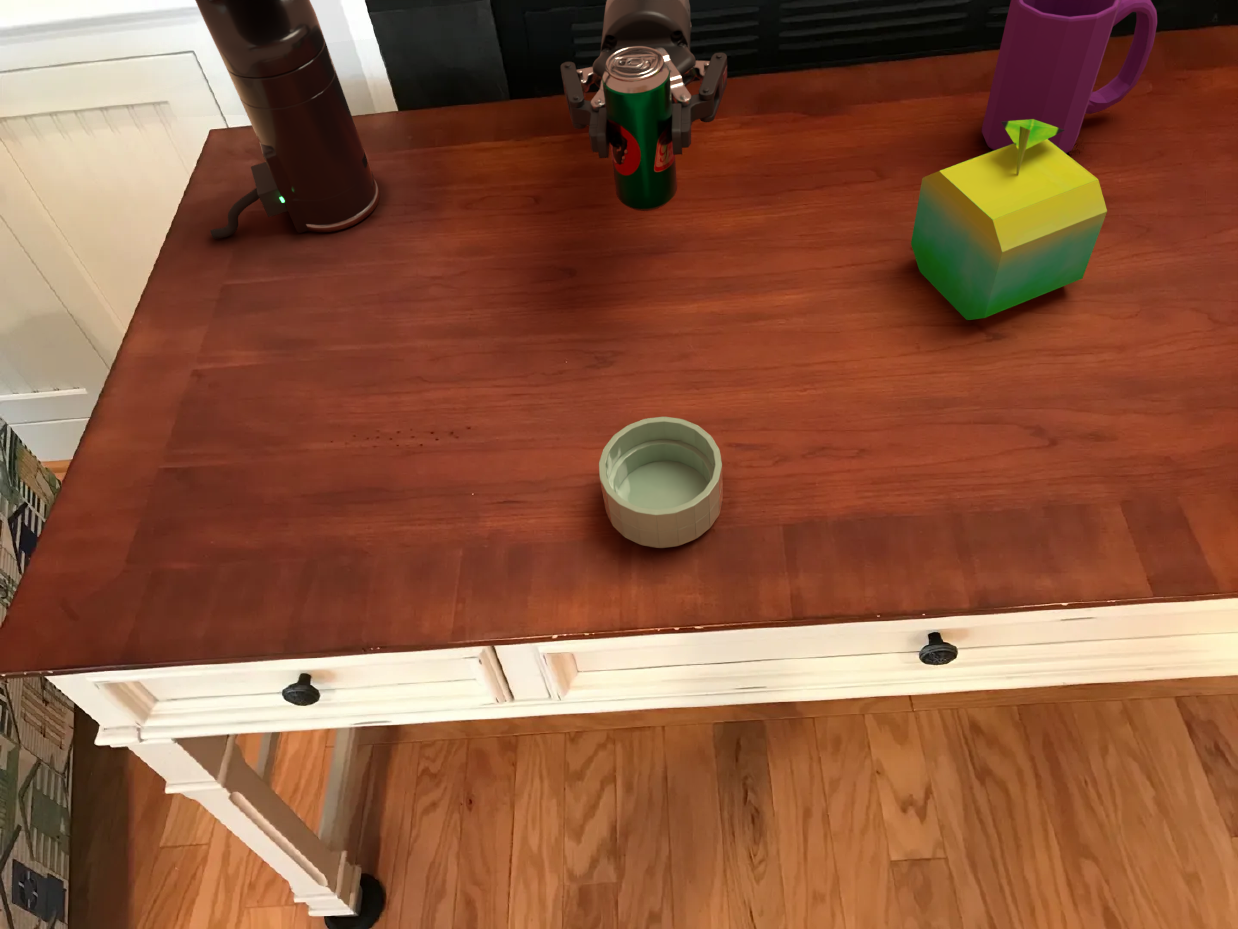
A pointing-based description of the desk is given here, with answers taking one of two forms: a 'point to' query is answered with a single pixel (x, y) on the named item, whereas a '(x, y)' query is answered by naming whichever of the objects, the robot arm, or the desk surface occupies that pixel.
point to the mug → (1062, 64)
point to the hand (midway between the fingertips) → (639, 146)
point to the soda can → (640, 127)
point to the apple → (1007, 223)
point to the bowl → (661, 481)
